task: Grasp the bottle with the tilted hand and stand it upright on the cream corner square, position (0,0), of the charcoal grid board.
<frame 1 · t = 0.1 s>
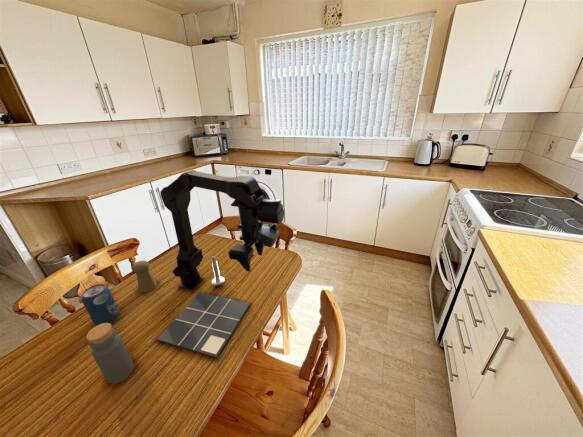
hand: (254, 262, 78), 15 cm above the table, tool pointing down, fingers open, 9 cm apart
pepper shaker: (148, 287, 91), on the table
grid board: (207, 321, 75), on the table
bottle: (121, 372, 61), on the table
soda can: (108, 319, 77), on the table
screw: (219, 285, 90), on the table
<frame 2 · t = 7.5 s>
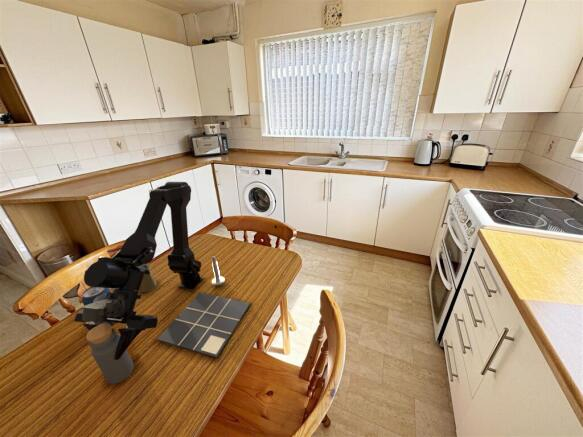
hand: (105, 357, 57), 8 cm above the table, tool tilted 45°, fingers closed on bottle, 6 cm apart
bottle: (121, 372, 61), on the table, touching gripper
everything else where it was.
when the fingers open (8 cm above the table, at t = 14.1 s): bottle stays where it is, resting on grid board.
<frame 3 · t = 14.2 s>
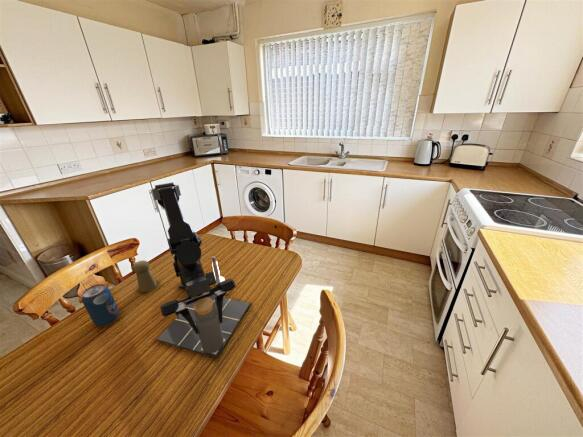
hand: (209, 328, 62), 8 cm above the table, tool tilted 45°, fingers open, 6 cm apart
bottle: (213, 344, 67), point 1 cm above the table, touching grid board
everything else where it was.
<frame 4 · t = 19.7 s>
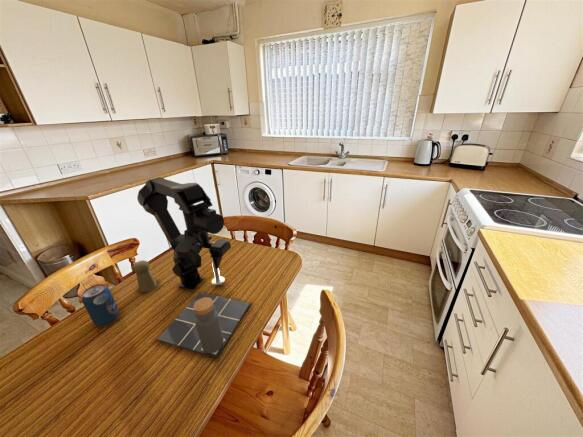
hand: (205, 266, 79), 13 cm above the table, tool pointing down, fingers open, 9 cm apart
nothing on the table moved.
at the end: bottle 0.1 cm from the target spot on the grid board, point 0.5 cm above the grid board's base; bottle tilted 0°; the gripper is holding nothing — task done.
